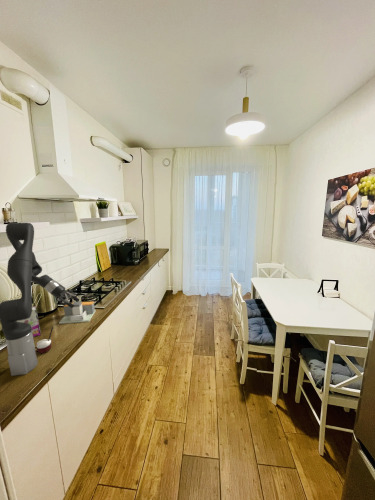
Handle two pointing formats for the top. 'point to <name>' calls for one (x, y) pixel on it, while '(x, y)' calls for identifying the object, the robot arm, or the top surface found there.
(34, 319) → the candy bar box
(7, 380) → the top surface
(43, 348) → the cocoa
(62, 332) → the top surface
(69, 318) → the orange-topped grey blocks
